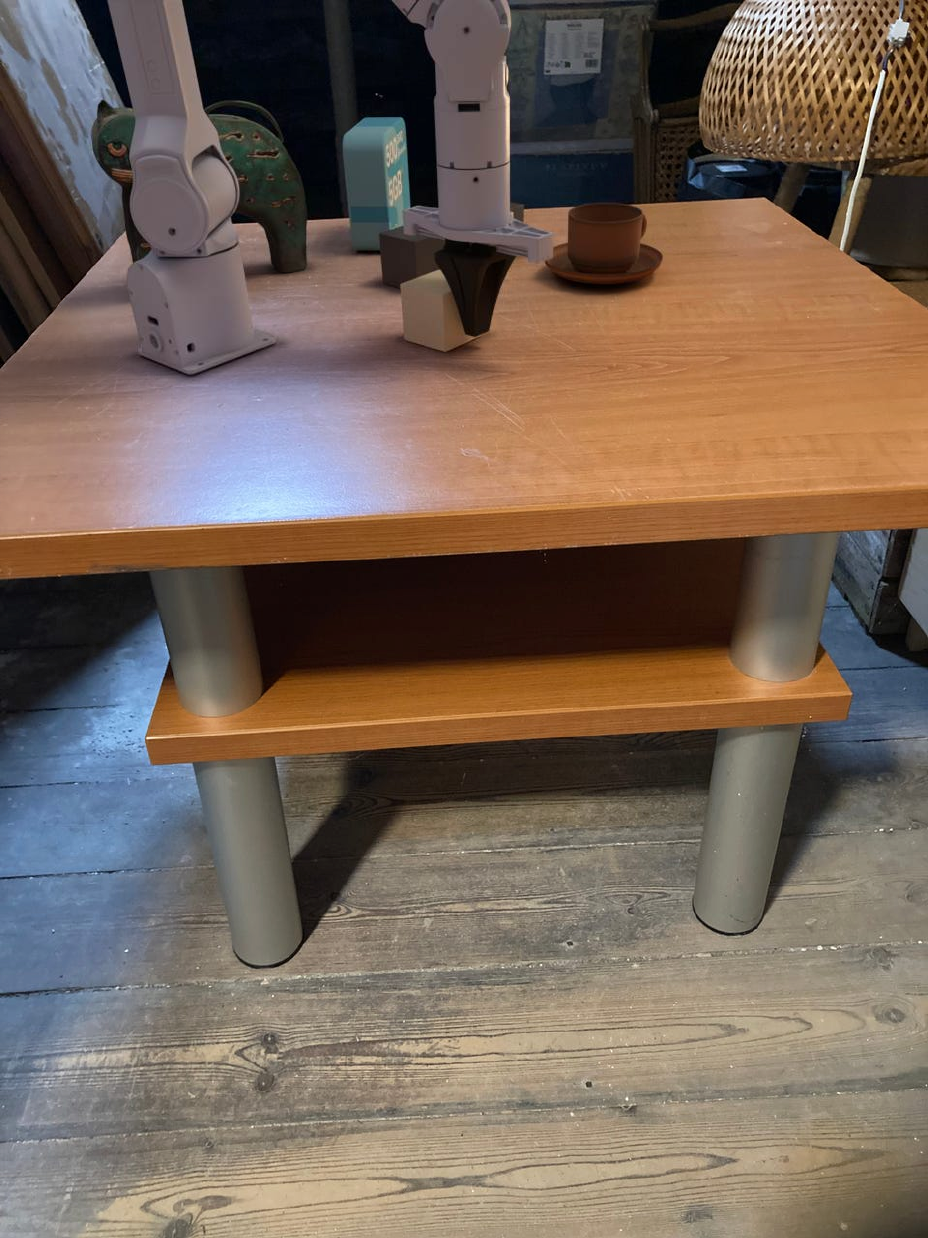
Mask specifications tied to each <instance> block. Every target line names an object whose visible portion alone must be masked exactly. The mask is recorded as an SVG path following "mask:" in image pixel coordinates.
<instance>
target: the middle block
mask: <svg viewBox="0 0 928 1238" xmlns="http://www.w3.org/2000/svg"><path fill="white" fill-rule="evenodd" d="M379 243H380V251H379V254H380V266H381V280H382V285H386V286H390V287H394V288H398V289H401V287H400V284H402V283H405V282H407V281H410V280H413V279H415V278H418V277H421V276H423V275H426V274H429V273H431V272H434V271H437V270H440V268H439V267H438V266H437V264H436V263H435V256H434V254H435V252H437V251H439V250H442V249H444V245H445V240H443V239H438V238H434V237H429V236H425V235H421V234H416V235H407V234H404V226H401V227H398V228H394V229H391V230H388V231H385V232H382V233H379Z"/></svg>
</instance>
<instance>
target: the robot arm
mask: <svg viewBox="0 0 928 1238" xmlns="http://www.w3.org/2000/svg"><path fill="white" fill-rule="evenodd" d="M391 1H392V2H393V4H394V5H395V6H396V7H397V8H398V9H399V11H400V12H401V13H402V14H403V15H404V16H405V17H406V18H407V20H408V21H409V22H410V23H412V24H418V25H421V26H422V27H424V28H425V30H424V32H423V33H424V34H423V35H424V40H425V44H426V47H427V50H428V52H429V54H430V56H431V58H432V60H433V61H434V68H435V71H434V72H435V91H436V92H435V96H434V99H433V106H434V108H433V109H434V128H435V129H434V130H435V131H434V132H435V154H436V155H435V156H436V180H437V199H438V200H437V201H438V203H437V204H438V207H429V206H422V205H416V206H412V207H410V208H409V209H406V210H403V226H404V234H407V235H416V234H421V235H425V236H429V237H434V238H438V239H443V240H445V245H444V249H442V250H439V251H437V252H435V254H434V256H435V263H436V264H437V266H438V267H439V268H440V270H441V272H442V273H443V275H444V277H445V279H446V281H447V283H448V285H449V287H450V289H451V291H452V294H453V296H454V299H455V302H456V305H457V308H458V311H459V315H460V318H461V322H462V325H463V329H464V332H465V335H469V336H472V337H477V336H479V335H481V334H482V335H483V334H486V333H488V332H490V330H491V325H492V320H493V316H494V312H495V307H496V303H497V300H498V297H499V294H500V290H501V288H502V285H503V283H504V281H505V278H506V276H507V275H508V273H509V270H510V268H511V266H512V264H513V263H514V261H515V259H516V257H520V258H524V259H527V262H528V263H530V264H531V263H532V264H535V265H538V264H541V263H545V261H546V260H548V259H551V258H553V247H554V232H551V231H547V230H543V229H540V228H537V227H534V226H533V225H530V224H528V223H526V222H524V223H523V222H521V221H519V220H516V219H514V218H513V212H511V211H510V202H511V161H510V160H511V110H510V109H511V96H510V94H509V91H508V90H507V86H508V84H509V75H510V74H509V67H508V64H507V56H506V55H505V53H506V51H507V48H508V45H509V40H510V34H511V28H512V16H511V9H510V6H509V3H508V0H391ZM107 4H108V8H109V9H108V10H109V13H110V17H111V21H112V26H113V29H114V34H115V38H116V42H117V46H118V51H119V55H120V60H121V63H122V68H123V72H124V75H125V80H126V84H127V88H128V93H129V98H130V103H131V105H132V109H133V110H134V115H135V119H136V123H135V129H134V134H133V139H132V143H131V148H130V155H129V159H130V163H131V167H132V172H133V188H132V192H131V196H130V211H131V215H132V219H133V221H134V224H135V226H136V228H137V229H138V231H139V232H140V234H141V235H142V236H143V238H144V239H145V240H146V241H147V242H149V243H150V245H151V248H152V250H151V251H150V252H149V254H148V255H147V256H146V257H144V258H143V259H141V260H139V261H136V262H134V263H133V262H132V263H131V264H130V265H129V267H128V268H127V272H126V287H127V293H128V296H129V301H130V305H131V310H132V314H133V317H134V321H135V326H136V330H137V335H138V338H139V343H140V347H139V348H138V349H137V353H138V355H139V356H142V357H145V358H147V359H150V360H152V361H155V362H157V363H159V364H162V365H164V366H166V367H169V368H171V369H174V370H177V371H179V372H181V373H184V374H186V375H195V374H198V373H201V372H202V371H205V370H208V369H211V368H213V367H217V366H219V365H222V364H224V363H226V362H229V361H232V360H235V359H237V358H240V357H242V356H245V355H248V354H250V353H253V352H256V351H259V350H260V349H263V348H266V347H268V346H271V345H274V344H275V343H276V342H277V340H276V337H275V336H273V335H271V334H268V333H265V332H261V331H259V330H256V329H254V324H253V318H252V312H251V305H250V299H249V292H248V287H247V281H246V275H245V270H244V268H245V267H244V264H243V257H242V256H243V255H242V250H241V245H240V239H239V233H238V231H237V229H236V228H235V226H234V224H233V222H232V216H233V214H235V213H234V211H235V209H236V208H237V205H238V201H239V184H238V180H237V177H236V174H235V172H234V170H233V169H232V167H231V166H230V164H229V163H228V161H227V160H226V158H225V156H224V154H223V152H222V150H221V146H220V142H219V137H218V132H217V130H216V129H215V127H214V125H213V124H212V122H211V121H210V120H209V118H208V117H207V115H206V113H205V112H204V106H203V101H202V95H201V91H200V86H199V81H198V76H197V71H196V70H197V69H196V65H195V60H194V56H193V50H192V44H191V40H190V35H189V31H188V25H187V20H186V15H185V10H184V5H183V0H107Z"/></svg>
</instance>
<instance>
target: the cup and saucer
mask: <svg viewBox="0 0 928 1238" xmlns="http://www.w3.org/2000/svg"><path fill="white" fill-rule="evenodd" d="M567 214H568V215H567V219H568V220H567V242H564V243H561V244H558V245H555V246H553V258H551V259H548V260H546V261H544V264H545V266H546V267H547V268H548V269H549V270H550V271H551V272H552V273H553V274H555V275H557V276H559V277H560V278H563V279H566V280H569V281H572V282H576V283H582V284H590V285H616V284H625V283H630V282H635V281H638V280H641V279H643V278H646V277H648V276H650V275H651V274H653V273H655V271H657V269H659V268H660V267H661V265H662V263H663V259H664V255H663V254H662V252H661V251H660V250H659V249H657V248H655V247H653V246H651V245H648V244H645V243H641V240H642V238H643V237H644V236H645V234H646V231H647V226H648V220H647V217H646V215H645V214H644V212H643V210H642V209H641V208H639V207H637V206H634V205H630V204H625V203H621V202H620V203H618V202H593V203H586V204H580V205H576V206H574V207H572V208H570V209H569V210H568V213H567Z"/></svg>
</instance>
